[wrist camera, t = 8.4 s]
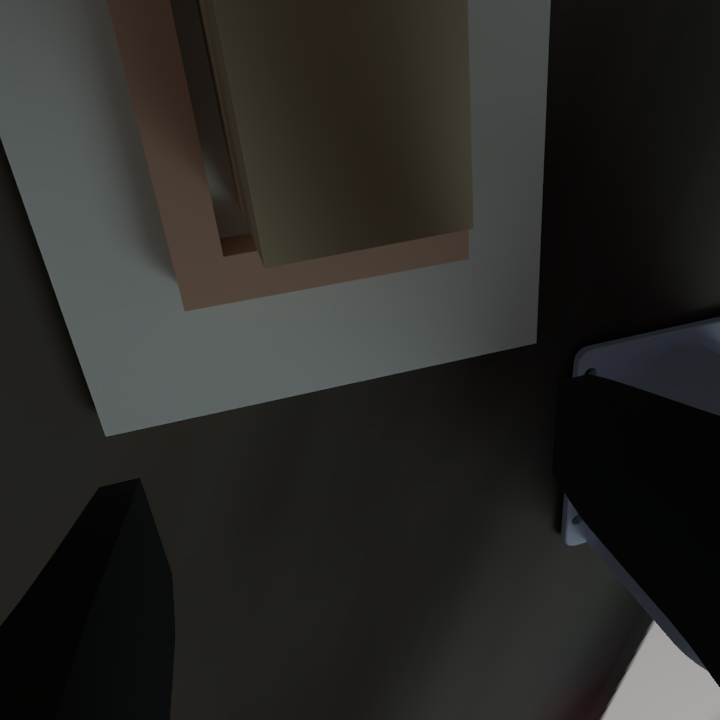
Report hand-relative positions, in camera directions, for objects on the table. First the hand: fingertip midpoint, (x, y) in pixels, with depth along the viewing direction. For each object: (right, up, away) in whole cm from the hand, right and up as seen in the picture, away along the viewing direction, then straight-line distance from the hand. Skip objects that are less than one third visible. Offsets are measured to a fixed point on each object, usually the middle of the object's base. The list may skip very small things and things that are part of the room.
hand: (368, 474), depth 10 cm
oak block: (-2, +9, +5) cm, 10 cm away
